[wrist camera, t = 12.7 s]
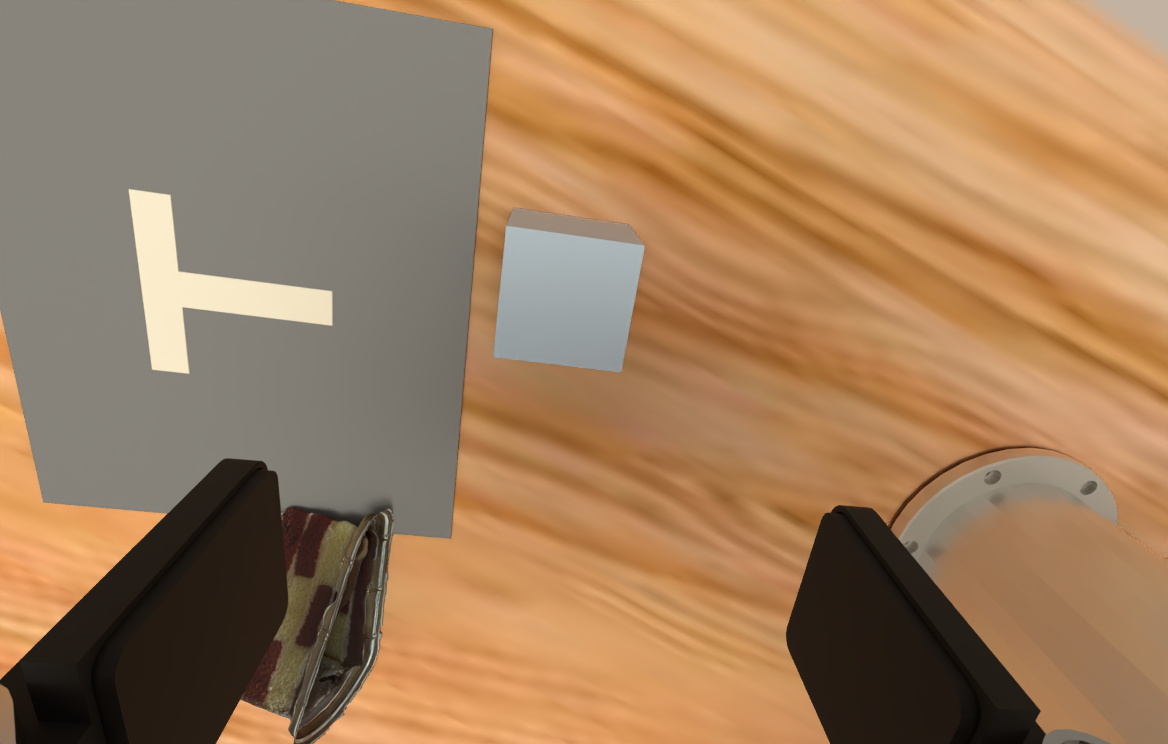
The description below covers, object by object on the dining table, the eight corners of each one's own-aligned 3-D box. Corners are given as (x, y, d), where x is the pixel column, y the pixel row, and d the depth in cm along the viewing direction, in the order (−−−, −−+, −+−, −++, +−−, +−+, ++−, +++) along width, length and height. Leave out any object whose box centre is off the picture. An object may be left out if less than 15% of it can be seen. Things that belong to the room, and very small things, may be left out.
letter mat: (493, 29, 23) (492, 28, 23) (450, 537, 32) (450, 539, 32) (-84, -74, 21) (-88, -76, 21) (45, 501, 30) (42, 503, 30)
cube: (628, 223, 26) (645, 245, 22) (609, 331, 28) (621, 372, 23) (514, 207, 26) (506, 225, 21) (502, 318, 27) (493, 357, 23)
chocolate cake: (254, 457, 30) (100, 722, 25) (382, 502, 29) (247, 786, 24) (330, 501, 38) (226, 703, 34) (430, 537, 37) (338, 751, 33)
